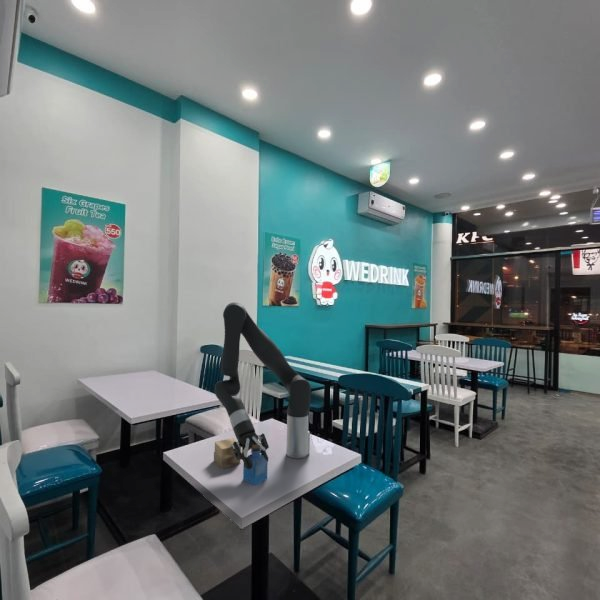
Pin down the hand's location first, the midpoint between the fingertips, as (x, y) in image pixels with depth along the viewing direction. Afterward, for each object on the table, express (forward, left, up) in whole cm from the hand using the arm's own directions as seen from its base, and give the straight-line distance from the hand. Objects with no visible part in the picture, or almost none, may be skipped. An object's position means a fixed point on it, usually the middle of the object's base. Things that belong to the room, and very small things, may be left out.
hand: (258, 465), depth 123 cm
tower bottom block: (+3, -20, -6) cm, 21 cm away
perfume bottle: (0, -2, -6) cm, 6 cm away
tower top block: (+3, -20, -2) cm, 20 cm away
